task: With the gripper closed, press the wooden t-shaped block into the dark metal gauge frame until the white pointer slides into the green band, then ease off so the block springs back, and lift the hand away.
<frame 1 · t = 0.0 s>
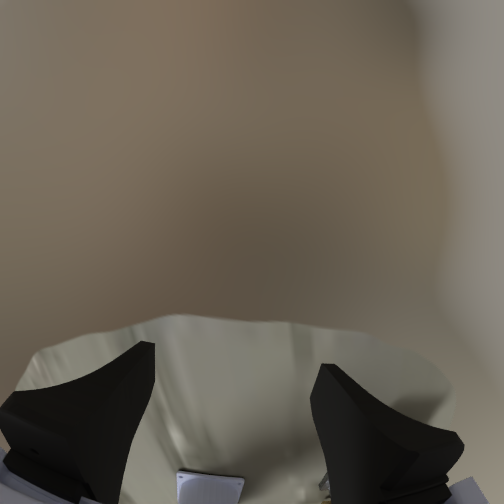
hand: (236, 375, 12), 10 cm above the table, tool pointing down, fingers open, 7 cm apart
wooden t-shaped block: (355, 496, 27), point 2 cm above the table, slide at 0.0 cm
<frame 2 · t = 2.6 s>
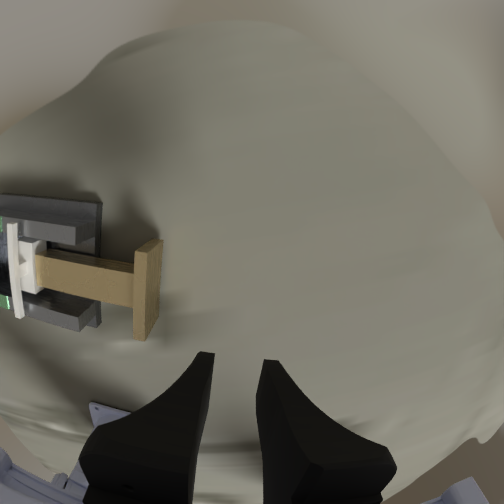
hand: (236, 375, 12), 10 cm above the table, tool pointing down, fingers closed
gauge frame: (47, 256, 21), on the table
wooden t-shaped block: (91, 277, 19), point 3 cm above the table, slide at 0.0 cm
pointer: (25, 266, 18), point 3 cm above the table, slide at 0.0 cm
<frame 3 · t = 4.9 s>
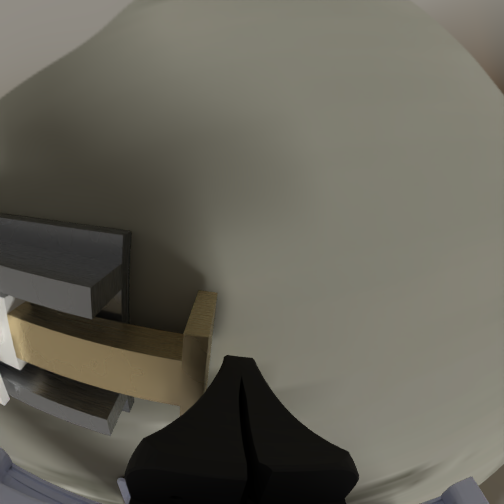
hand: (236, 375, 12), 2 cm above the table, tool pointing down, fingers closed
gauge frame: (43, 308, 13), on the table
wooden t-shaped block: (100, 354, 11), point 2 cm above the table, slide at 1.1 cm, touching gripper, pointer
pointer: (0, 329, 10), point 3 cm above the table, slide at 0.8 cm, touching wooden t-shaped block
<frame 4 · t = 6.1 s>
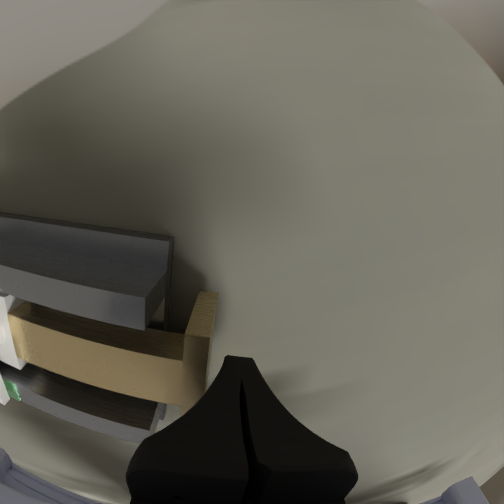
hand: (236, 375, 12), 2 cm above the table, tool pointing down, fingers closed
gauge frame: (71, 315, 13), on the table
wooden t-shaped block: (100, 353, 11), point 2 cm above the table, slide at 3.1 cm, touching gripper, pointer
pointer: (0, 329, 10), point 3 cm above the table, slide at 2.8 cm, touching wooden t-shaped block
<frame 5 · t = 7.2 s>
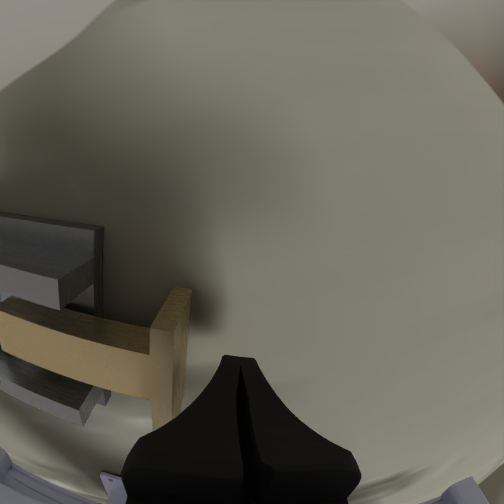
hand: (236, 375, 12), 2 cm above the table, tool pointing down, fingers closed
gauge frame: (25, 302, 13), on the table
wooden t-shaped block: (79, 347, 11), point 2 cm above the table, slide at 0.8 cm
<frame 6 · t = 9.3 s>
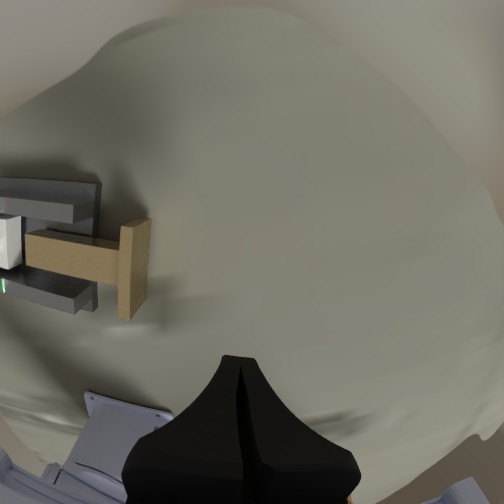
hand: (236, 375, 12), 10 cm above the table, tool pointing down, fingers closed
gauge frame: (44, 239, 20), on the table
wooden t-shaped block: (79, 256, 18), point 2 cm above the table, slide at 0.8 cm
pointer: (0, 242, 17), point 3 cm above the table, slide at 2.8 cm
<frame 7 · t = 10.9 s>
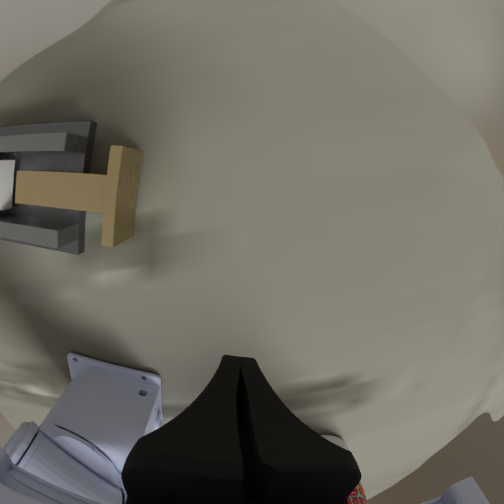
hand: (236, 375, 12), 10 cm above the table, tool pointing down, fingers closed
gauge frame: (36, 184, 19), on the table
wooden t-shaped block: (68, 189, 17), point 2 cm above the table, slide at 0.8 cm
milk bottle: (312, 452, 27), on the table
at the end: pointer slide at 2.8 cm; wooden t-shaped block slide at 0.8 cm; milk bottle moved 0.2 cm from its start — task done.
